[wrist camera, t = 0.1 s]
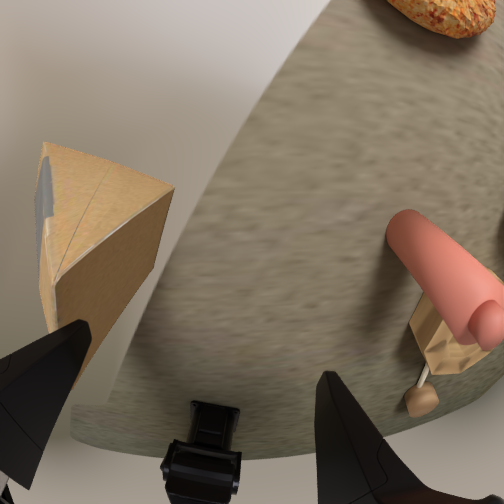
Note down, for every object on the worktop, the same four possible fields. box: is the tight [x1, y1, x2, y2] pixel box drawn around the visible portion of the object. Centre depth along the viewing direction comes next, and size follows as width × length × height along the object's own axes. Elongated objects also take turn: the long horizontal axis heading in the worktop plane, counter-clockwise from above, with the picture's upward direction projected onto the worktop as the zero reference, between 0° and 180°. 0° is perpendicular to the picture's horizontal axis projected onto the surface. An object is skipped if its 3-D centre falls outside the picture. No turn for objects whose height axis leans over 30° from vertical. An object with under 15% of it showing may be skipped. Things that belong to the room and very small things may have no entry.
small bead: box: [404, 381, 439, 417], centre depth 30 cm, size 4×4×3 cm
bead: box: [409, 267, 504, 375], centre depth 23 cm, size 11×11×4 cm
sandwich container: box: [35, 142, 175, 390], centre depth 16 cm, size 9×15×15 cm, turn 68°
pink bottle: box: [386, 209, 504, 351], centre depth 16 cm, size 4×4×14 cm
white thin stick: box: [416, 363, 429, 388], centre depth 28 cm, size 12×1×1 cm, turn 6°
